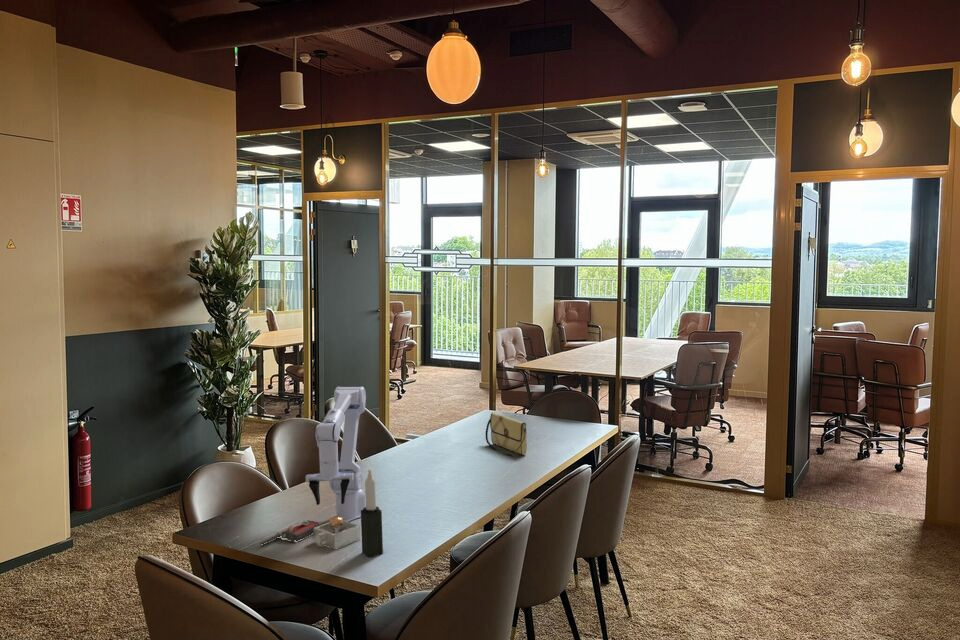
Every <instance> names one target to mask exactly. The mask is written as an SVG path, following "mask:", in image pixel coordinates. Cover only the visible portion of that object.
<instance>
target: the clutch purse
mask: <svg viewBox="0 0 960 640" xmlns="http://www.w3.org/2000/svg"><path fill="white" fill-rule="evenodd" d="M489 427H490V431H491V432H490V435H491V436H490V439H491V443H492V444H493V445H495V444H496V446H498V447H500V446H501V447H500V448H503V449H505V448H506V450H508V449H509V450H508V451H511V452H513V451H514V452H513V453H508V454H509V455H508V456H511V455H513V454H515V453H516V454H518V453H519V455H521V454H522V456H523V455H525V456H526V455H527V448H528V447H527V444H528V443H527V423H526V422H523V421H522V420H521V421H520V420H517V419H514V418H511V417H508V416H505V415H501V414H498V413H495V412H492V413H491V414H490V417H489V419H488V421H487V423H486V429H485V441H486V443H487V445H488V446H489V447H490V448H491V447H492V448H491V449H493V448H495V447H494V446H493V445H492V444H491V443H490V441H489V437H488V434H489Z"/></svg>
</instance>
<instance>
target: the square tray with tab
mask: <svg viewBox="0 0 960 640" xmlns="http://www.w3.org/2000/svg"><path fill="white" fill-rule="evenodd" d="M319 525H320V524H319ZM334 533H335V527H331V526H330V521H328V522H326V523H323V524H321V525H320V526H318V527H315V528H313V535H312V536H313V542H314V541H315V542H317V543H316V546H317V547H319V548H322V547H326V546H329V547H331V548H334V549H336V548H338V549H340V548H339V547H341V548H343V547H345V546H344V545H346V546H348V545H350V544H349V543H351V544H353V543H355V542H354V541H356V542H358V541H361V524H357V523H354V522H351V521H349V522H347V521H344V520H343V525H342V526H340V527H339V533H336V534H334ZM352 542H353V543H352ZM347 544H348V545H347ZM325 545H326V546H325ZM342 546H343V547H342ZM331 548H330V549H331ZM334 549H333V550H334ZM336 550H337V549H336Z"/></svg>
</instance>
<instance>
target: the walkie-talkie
mask: <svg viewBox="0 0 960 640" xmlns="http://www.w3.org/2000/svg"><path fill="white" fill-rule="evenodd" d="M318 526H320V522H318V521H314V520H303V521H302V522H296V523H294V524H292V525H290V526H288V527H287V528H286V527H285V528H284V529H282V530H280V531H277V532H276V534H275V535H274V536H272V537H270V538H268V539H266V540H264V541H261V542H260V543H259V545H260V544H264V543H266V542H269V541H271V540H273V539H275V538H277V537H280V536H282V538H287V539H288V540H291V541H294V540H296V541H298V540H300V539H303V538H305V537H307V536H309V535H311V534H312V533H313V528H315V527H318ZM275 540H276V539H275ZM273 541H274V540H273ZM271 542H272V541H271ZM269 543H270V542H269Z"/></svg>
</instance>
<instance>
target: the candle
mask: <svg viewBox="0 0 960 640" xmlns="http://www.w3.org/2000/svg"><path fill="white" fill-rule="evenodd" d="M367 472H368V474H367V478H366V479H365V482H364V488H365V492H364V495H365V508H363V510H361V517H360V523H361V524H360V534H361V551H362V552H361V554H363V555H364V556H365V557H367V558H373V557H376V556H379V555H383V553H384V547H383V545H384V544H383V542H384V540H383V514H382V510H381V509H380V507H379V506H377V497H376V493H377V491H376V480H375V478H374V476H373V474H372V469H368V471H367Z"/></svg>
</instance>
